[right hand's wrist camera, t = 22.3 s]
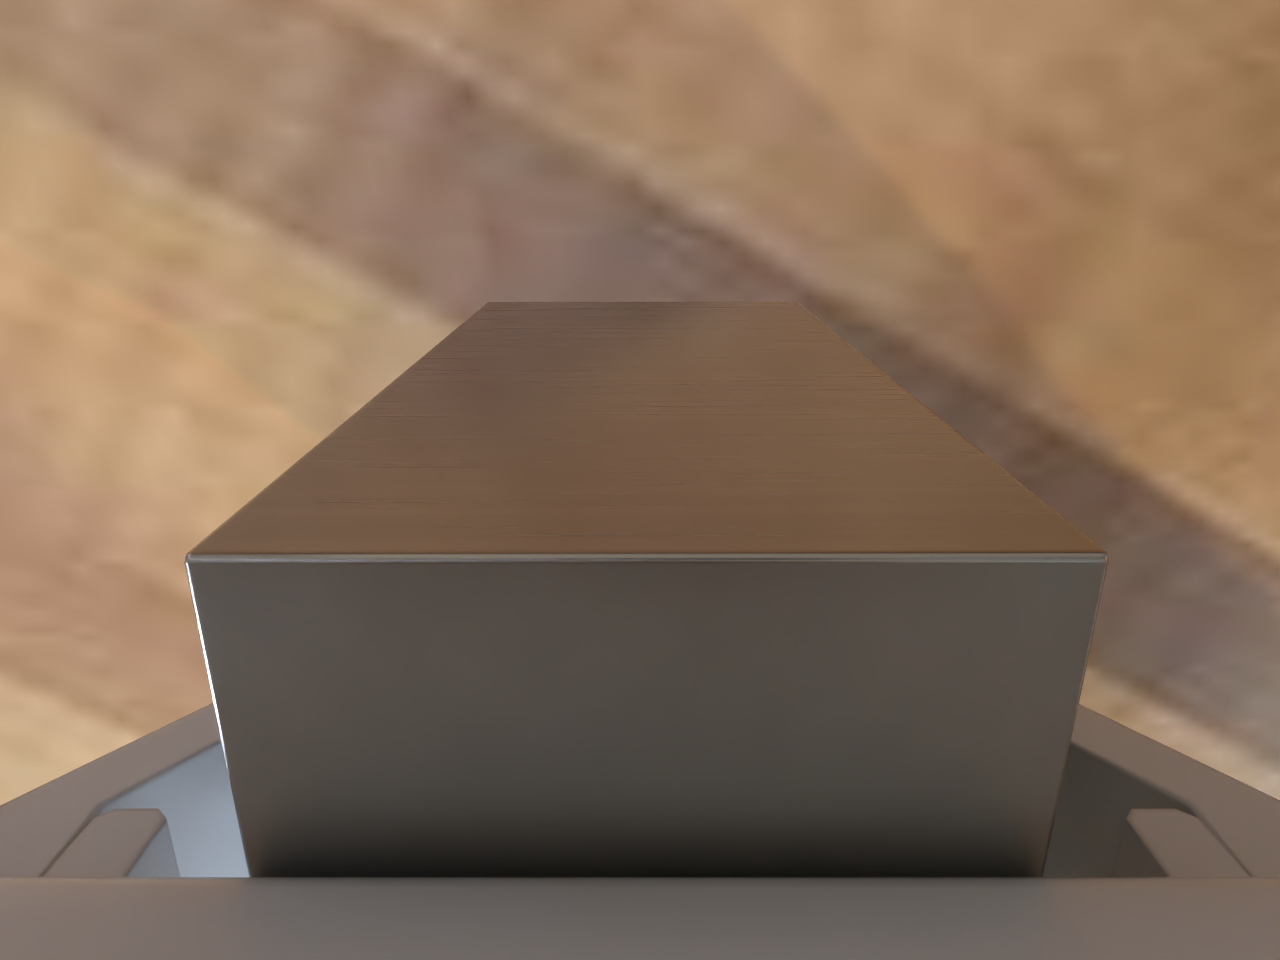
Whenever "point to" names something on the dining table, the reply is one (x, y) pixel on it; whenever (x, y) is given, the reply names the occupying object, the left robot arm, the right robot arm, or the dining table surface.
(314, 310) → the dining table surface
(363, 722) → the block
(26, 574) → the dining table surface
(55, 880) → the right robot arm
